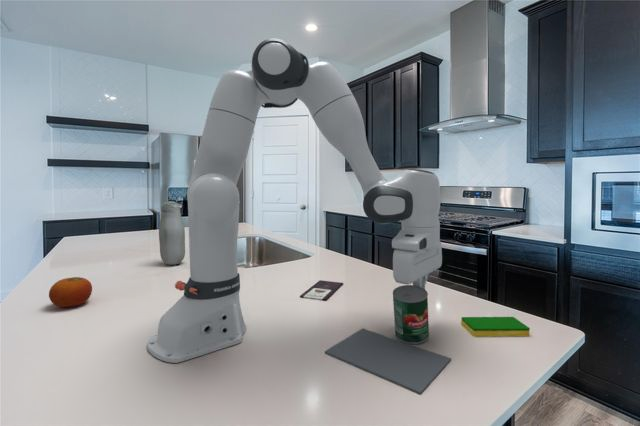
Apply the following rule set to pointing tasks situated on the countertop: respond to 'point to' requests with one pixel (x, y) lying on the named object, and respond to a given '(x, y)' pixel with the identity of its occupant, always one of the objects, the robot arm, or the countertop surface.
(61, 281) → the fruit
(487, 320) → the dish sponge
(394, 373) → the rubber mat
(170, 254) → the grey bottle
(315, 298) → the chocolate bar
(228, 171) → the robot arm
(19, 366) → the countertop surface
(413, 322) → the canned tomato
